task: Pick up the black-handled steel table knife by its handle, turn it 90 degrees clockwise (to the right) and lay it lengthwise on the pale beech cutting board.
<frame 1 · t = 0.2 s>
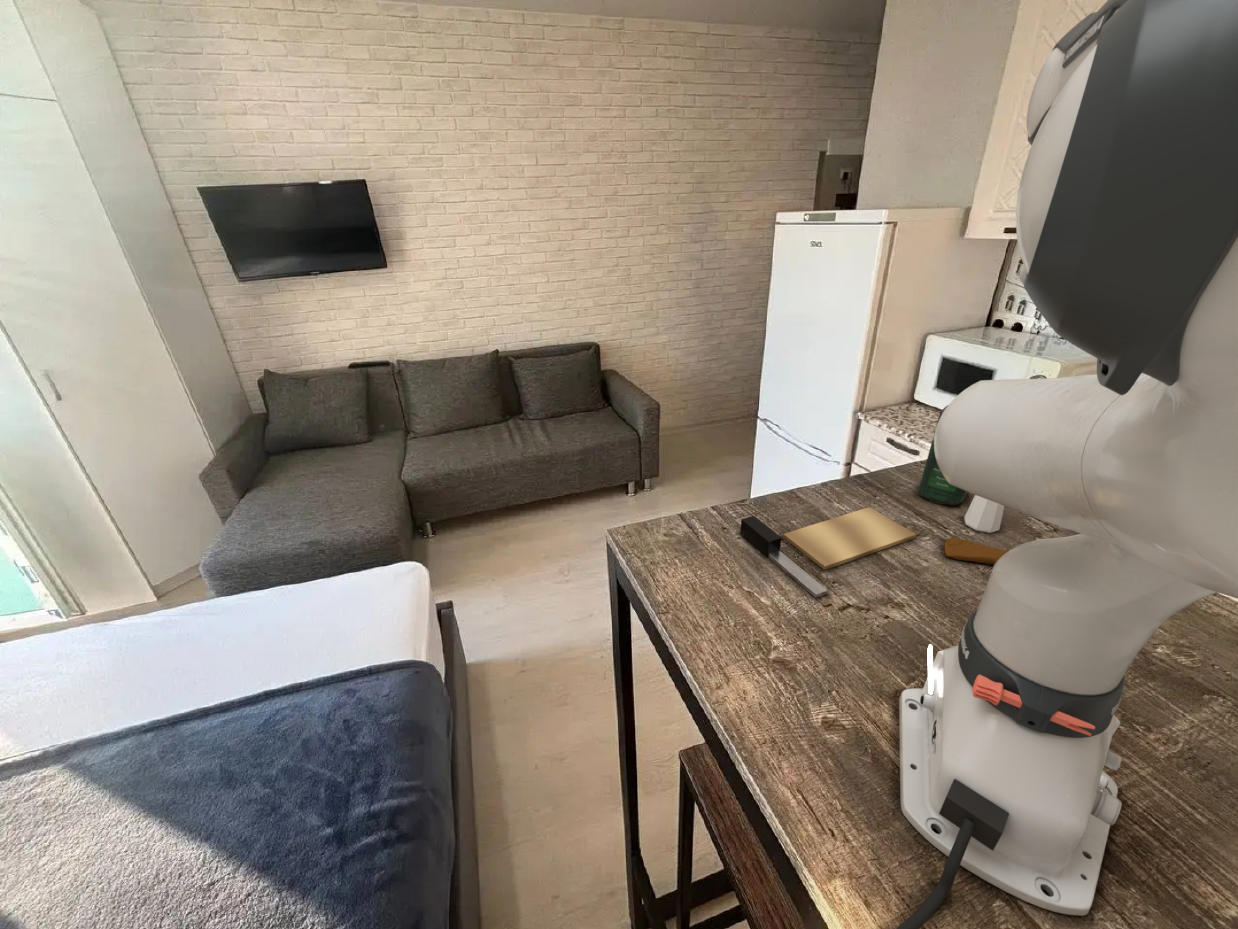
hand: (1120, 333, 53), 39 cm above the table, tool pointing down, fingers open, 8 cm apart
coffee jar: (942, 495, 100), on the table
pepper shaker: (980, 525, 90), on the table
cutting board: (848, 537, 88), on the table
primitive tool: (1012, 567, 80), on the table
knife: (781, 562, 83), on the table
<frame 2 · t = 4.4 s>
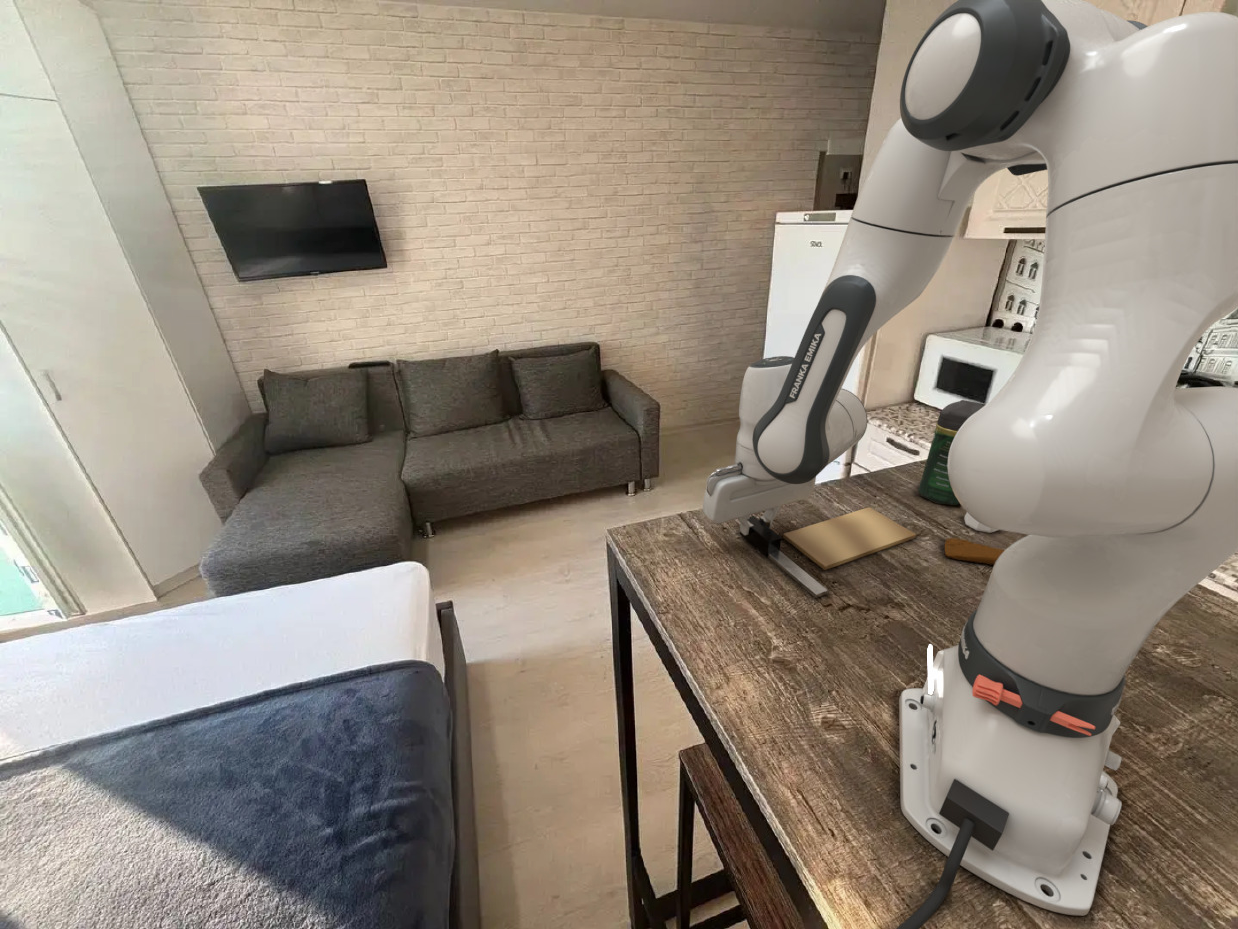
hand: (755, 529, 87), 2 cm above the table, tool pointing down, fingers closed on knife, 2 cm apart
knife: (781, 562, 83), on the table, touching gripper
everything else where it was.
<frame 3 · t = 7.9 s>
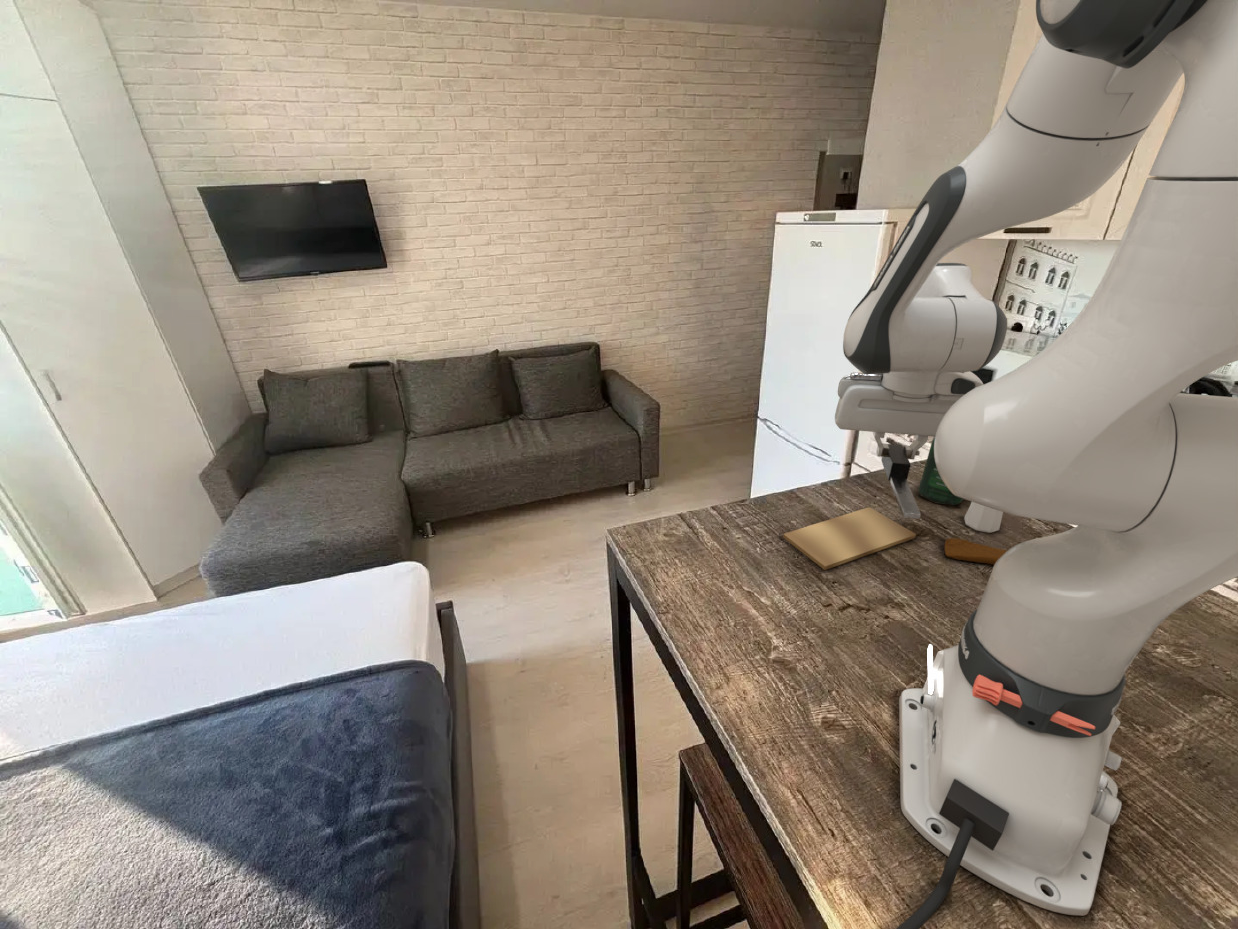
hand: (894, 456, 84), 14 cm above the table, tool pointing down, fingers closed on knife, 2 cm apart
knife: (899, 487, 79), point 12 cm above the table, touching gripper
everything else where it was.
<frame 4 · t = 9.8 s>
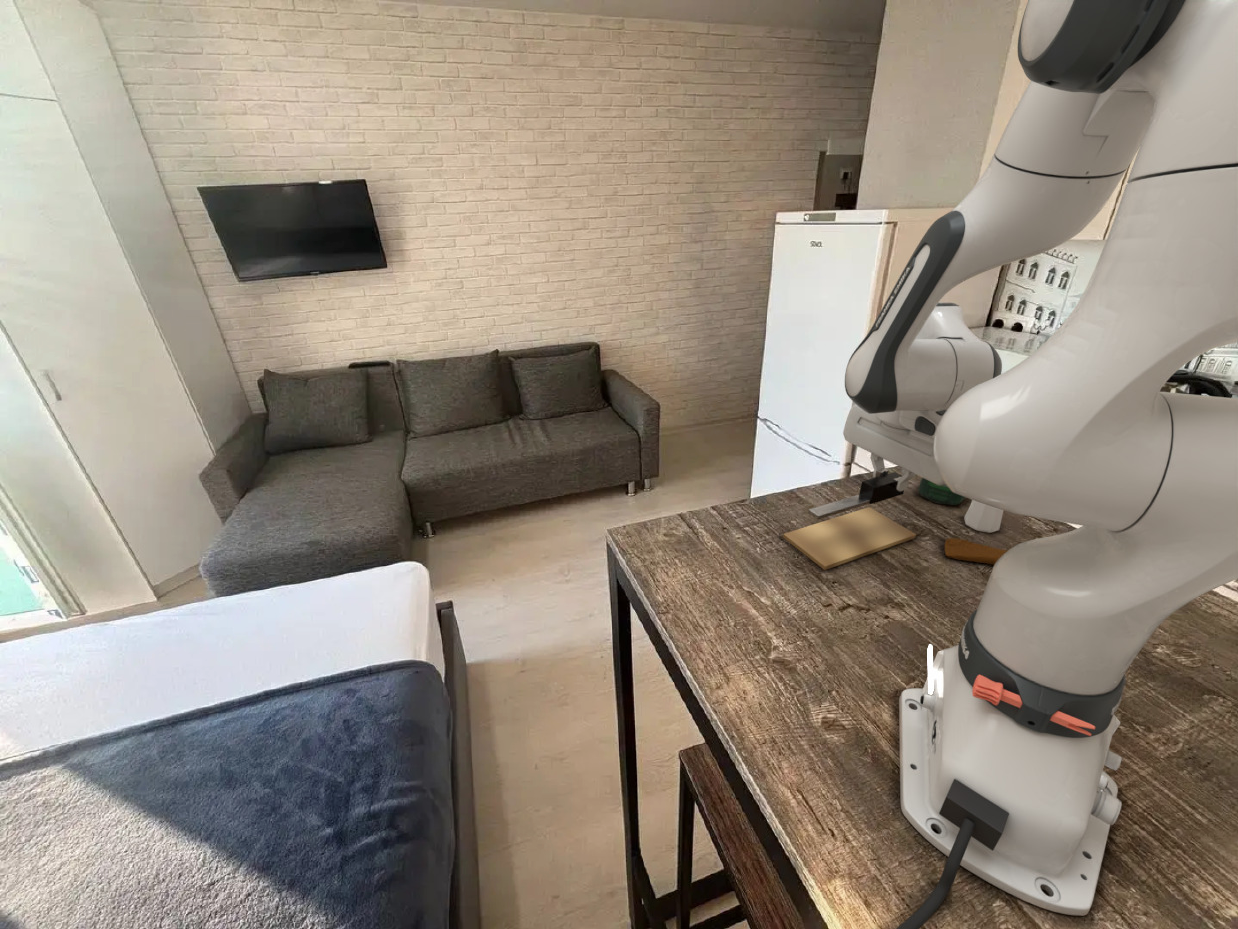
hand: (889, 483, 86), 9 cm above the table, tool pointing down, fingers closed on knife, 2 cm apart
knife: (855, 503, 85), point 7 cm above the table, touching gripper
everything else where it was.
when the fingers open (3 cm above the table, at t = 11.3 s): knife stays where it is, resting on cutting board.
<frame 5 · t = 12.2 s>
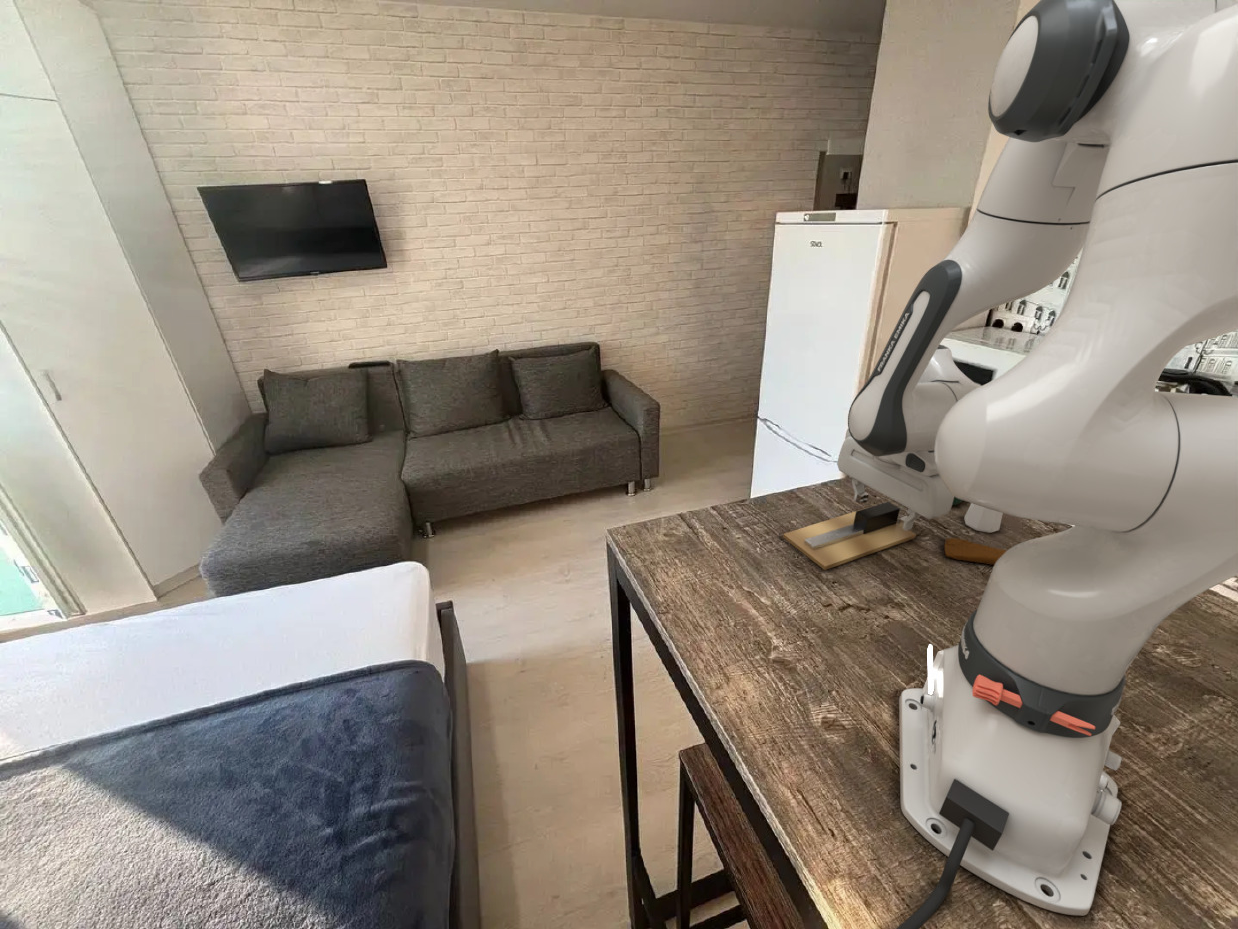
hand: (881, 514, 89), 3 cm above the table, tool pointing down, fingers open, 8 cm apart
knife: (849, 533, 88), point 1 cm above the table, touching cutting board
everything else where it was.
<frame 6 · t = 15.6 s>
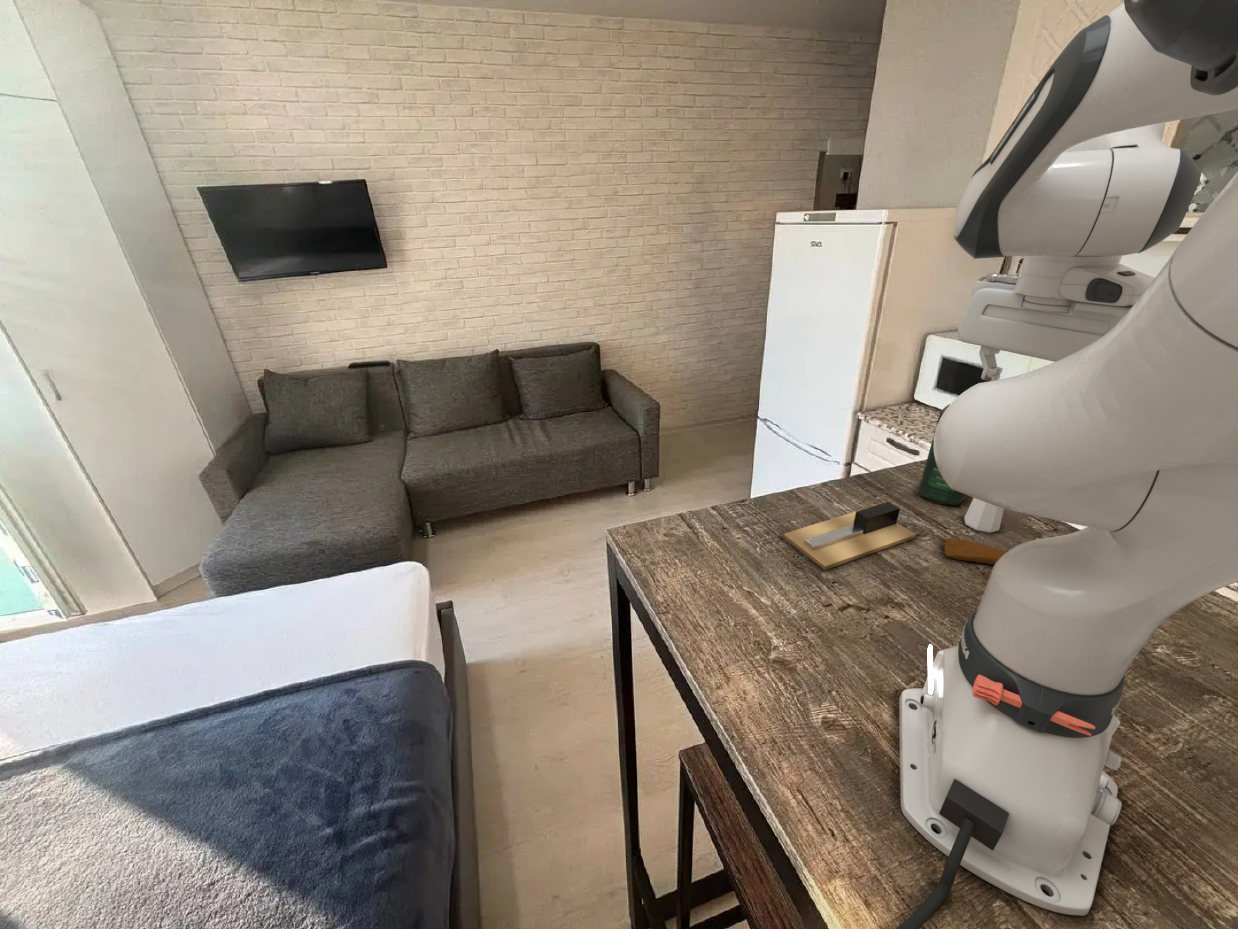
hand: (1025, 389, 67), 29 cm above the table, tool pointing down, fingers open, 8 cm apart
nothing on the table moved.
at the end: knife 0.2 cm from the target spot, point 0.8 cm above the table; knife touching cutting board; the gripper is holding nothing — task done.
